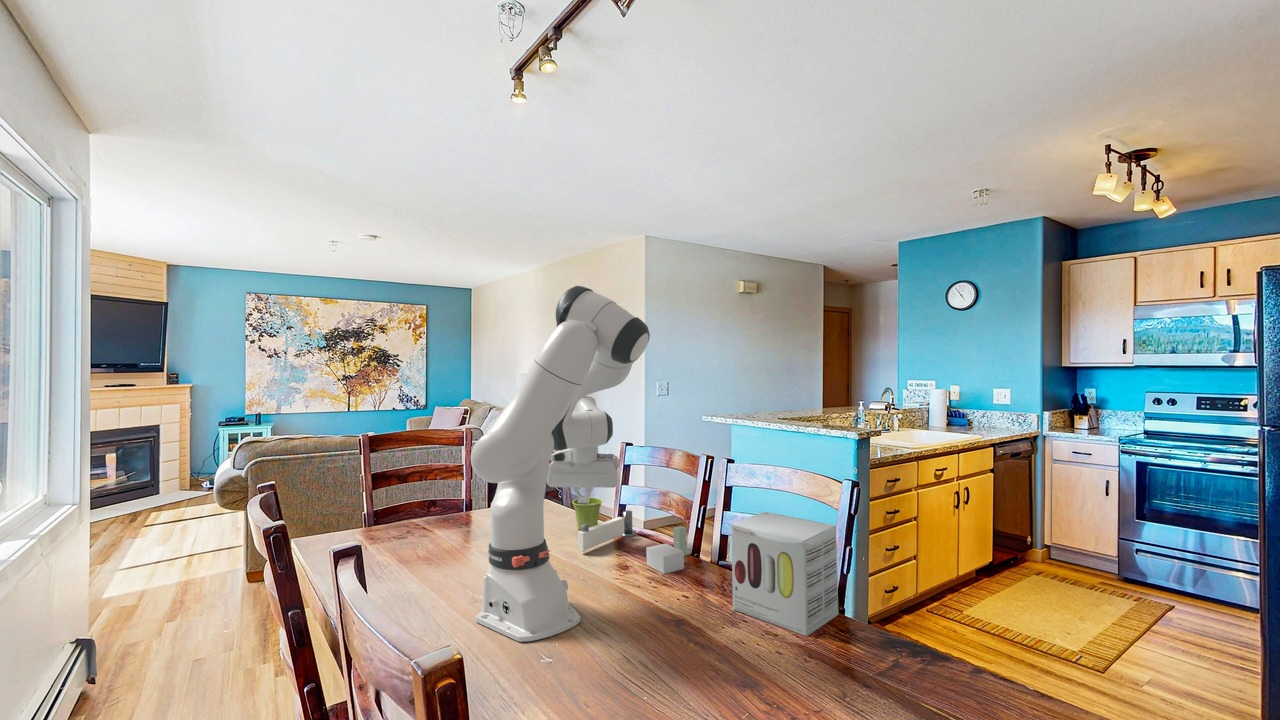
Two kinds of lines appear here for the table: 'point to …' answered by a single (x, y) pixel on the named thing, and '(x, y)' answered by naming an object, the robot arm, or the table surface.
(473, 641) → the table surface
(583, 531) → the gate
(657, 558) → the light grey block
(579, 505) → the plant pot
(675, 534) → the post
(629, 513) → the hinge post
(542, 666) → the table surface
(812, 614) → the supplement box
